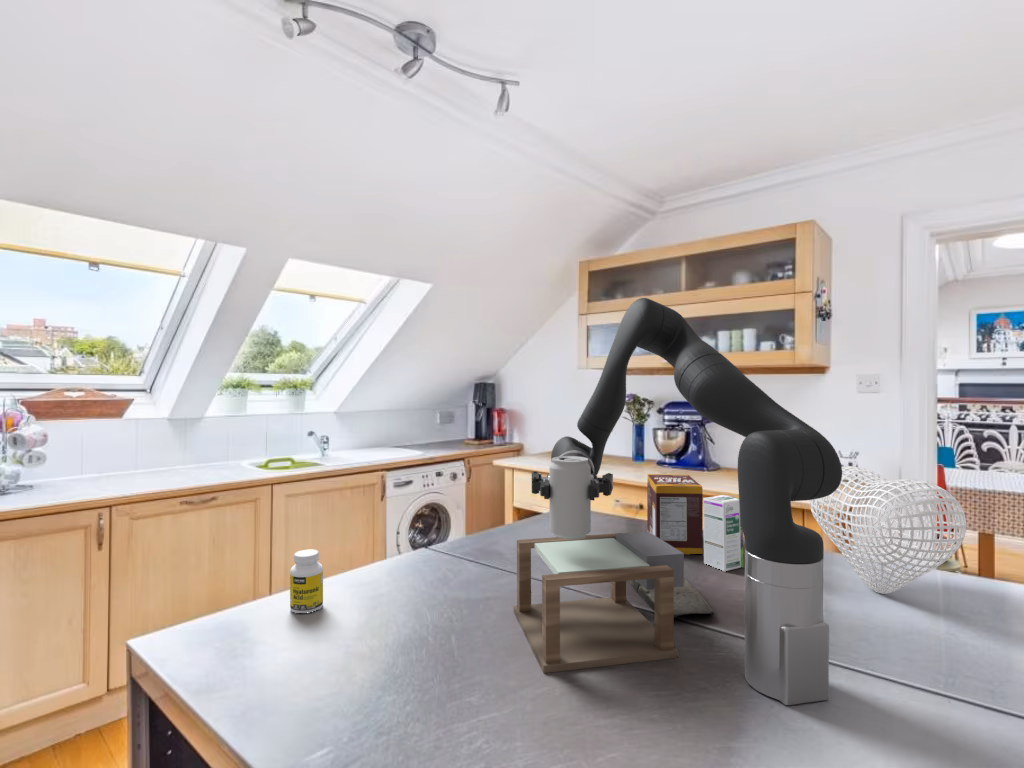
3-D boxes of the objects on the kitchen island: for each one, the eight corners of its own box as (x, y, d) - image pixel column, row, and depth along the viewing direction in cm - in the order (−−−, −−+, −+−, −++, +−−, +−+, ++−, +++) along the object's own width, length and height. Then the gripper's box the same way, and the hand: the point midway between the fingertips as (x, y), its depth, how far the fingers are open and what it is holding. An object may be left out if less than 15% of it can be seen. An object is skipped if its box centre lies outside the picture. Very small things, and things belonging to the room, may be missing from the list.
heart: (792, 568, 116) (792, 462, 115) (859, 564, 118) (859, 460, 118) (906, 629, 88) (907, 489, 88) (990, 622, 90) (992, 486, 90)
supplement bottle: (288, 616, 94) (287, 559, 93) (292, 604, 99) (291, 549, 99) (322, 613, 95) (321, 556, 95) (324, 600, 100) (323, 546, 100)
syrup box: (725, 572, 114) (725, 501, 113) (702, 564, 119) (702, 496, 118) (743, 567, 116) (744, 498, 116) (721, 559, 122) (721, 493, 121)
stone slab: (660, 612, 90) (613, 548, 120) (659, 632, 90) (612, 563, 120) (721, 611, 91) (659, 548, 121) (720, 630, 91) (659, 562, 121)
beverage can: (564, 526, 91) (564, 453, 91) (598, 533, 87) (598, 457, 87) (541, 535, 86) (540, 458, 86) (576, 543, 82) (576, 462, 82)
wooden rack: (678, 657, 80) (678, 570, 79) (543, 673, 76) (543, 581, 75) (623, 601, 99) (623, 532, 99) (513, 611, 95) (513, 539, 95)
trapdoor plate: (687, 588, 83) (687, 555, 83) (558, 600, 79) (558, 565, 79) (646, 558, 97) (646, 530, 97) (534, 567, 93) (534, 537, 93)
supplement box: (688, 535, 140) (688, 473, 139) (703, 555, 124) (703, 486, 124) (646, 534, 141) (646, 473, 141) (655, 554, 125) (656, 485, 125)
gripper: (533, 451, 102) (522, 467, 85) (613, 452, 99) (617, 469, 83) (534, 492, 102) (522, 516, 85) (613, 494, 100) (617, 519, 83)
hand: (569, 493), depth 84 cm, fingers closed on beverage can, 6 cm apart
